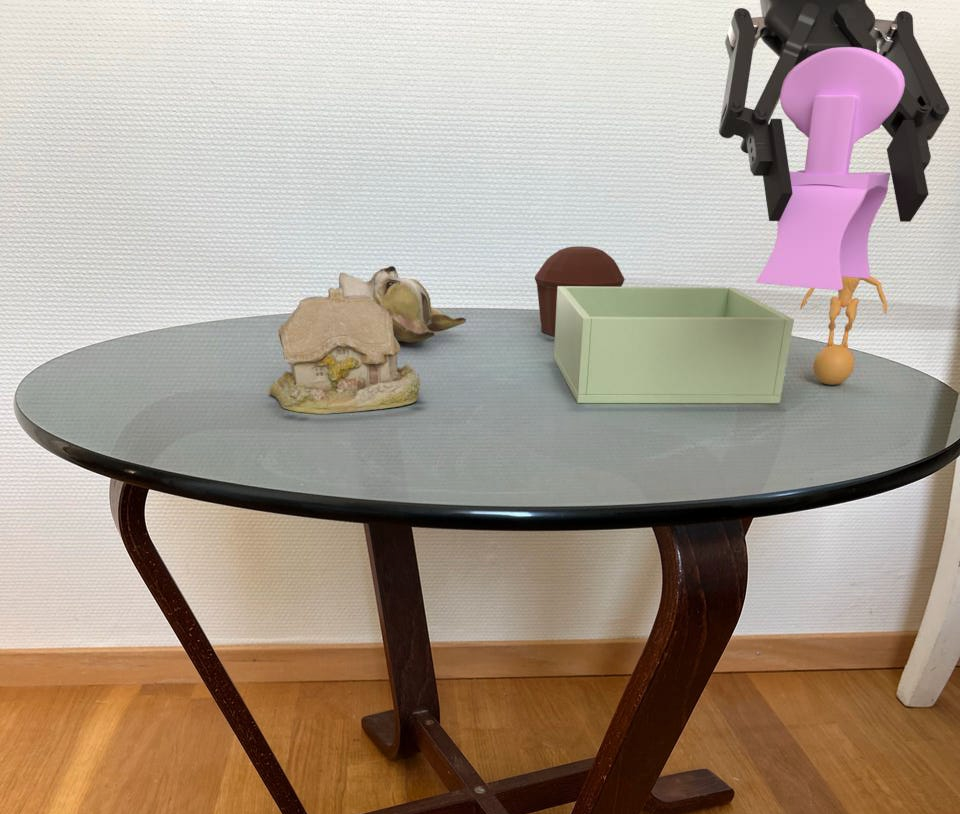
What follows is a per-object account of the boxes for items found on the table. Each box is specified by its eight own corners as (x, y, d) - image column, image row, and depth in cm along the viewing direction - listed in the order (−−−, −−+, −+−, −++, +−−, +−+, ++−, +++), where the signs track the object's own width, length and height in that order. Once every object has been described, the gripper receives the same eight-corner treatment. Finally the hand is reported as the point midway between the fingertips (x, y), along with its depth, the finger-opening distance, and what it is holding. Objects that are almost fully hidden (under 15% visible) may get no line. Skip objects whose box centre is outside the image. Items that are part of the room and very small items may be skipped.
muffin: (597, 344, 114) (603, 256, 109) (516, 334, 119) (519, 249, 114) (633, 329, 123) (641, 246, 118) (557, 320, 128) (561, 241, 123)
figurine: (788, 385, 97) (809, 260, 91) (788, 372, 102) (808, 254, 96) (873, 392, 95) (900, 264, 89) (869, 378, 100) (895, 257, 94)
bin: (724, 359, 107) (733, 287, 104) (780, 403, 90) (794, 319, 86) (553, 358, 106) (557, 286, 103) (577, 403, 89) (582, 317, 85)
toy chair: (884, 278, 73) (931, 52, 66) (855, 292, 67) (903, 43, 60) (779, 270, 77) (812, 56, 70) (743, 281, 71) (774, 47, 64)
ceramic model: (269, 416, 84) (257, 298, 79) (269, 386, 93) (258, 279, 88) (425, 410, 86) (423, 295, 81) (409, 381, 96) (407, 277, 91)
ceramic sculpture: (361, 253, 117) (471, 269, 112) (361, 325, 121) (467, 343, 117) (316, 264, 108) (433, 281, 104) (317, 340, 113) (430, 360, 108)
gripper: (919, 15, 77) (968, 244, 71) (659, 11, 76) (683, 243, 70) (969, -78, 70) (1027, 168, 64) (681, -83, 69) (711, 166, 63)
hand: (847, 207), depth 67 cm, fingers closed on toy chair, 9 cm apart
